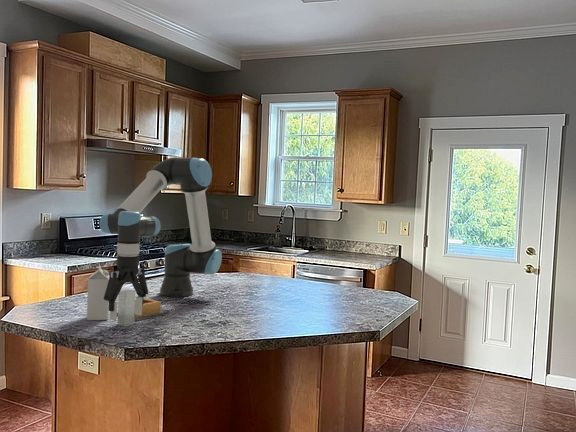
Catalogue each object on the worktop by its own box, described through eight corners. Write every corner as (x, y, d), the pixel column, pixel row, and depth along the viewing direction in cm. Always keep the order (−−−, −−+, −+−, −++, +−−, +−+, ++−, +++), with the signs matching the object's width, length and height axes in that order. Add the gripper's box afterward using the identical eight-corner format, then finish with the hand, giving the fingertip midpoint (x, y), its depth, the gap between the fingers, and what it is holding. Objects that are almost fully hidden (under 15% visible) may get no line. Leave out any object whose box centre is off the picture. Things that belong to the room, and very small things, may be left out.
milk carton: (86, 320, 187) (88, 268, 186) (88, 316, 194) (90, 265, 193) (107, 320, 189) (109, 268, 188) (108, 315, 196) (110, 265, 195)
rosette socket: (147, 308, 210) (148, 296, 210) (169, 313, 204) (169, 300, 204) (115, 315, 197) (115, 302, 197) (137, 320, 190) (137, 307, 190)
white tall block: (126, 322, 188) (127, 289, 187) (134, 324, 185) (135, 290, 185) (117, 324, 184) (118, 290, 184) (125, 326, 182) (126, 292, 182)
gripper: (145, 251, 196) (143, 310, 196) (93, 256, 176) (91, 321, 177) (160, 253, 191) (157, 313, 192) (108, 258, 172) (105, 325, 173)
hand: (126, 317), depth 185 cm, fingers open, 10 cm apart
